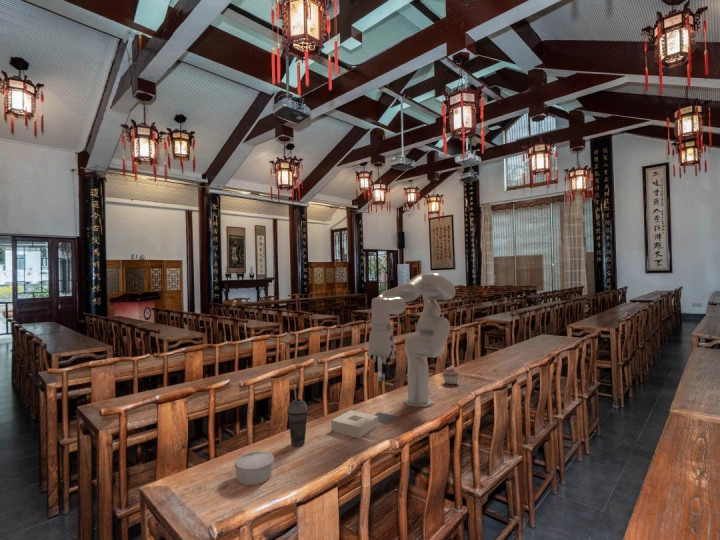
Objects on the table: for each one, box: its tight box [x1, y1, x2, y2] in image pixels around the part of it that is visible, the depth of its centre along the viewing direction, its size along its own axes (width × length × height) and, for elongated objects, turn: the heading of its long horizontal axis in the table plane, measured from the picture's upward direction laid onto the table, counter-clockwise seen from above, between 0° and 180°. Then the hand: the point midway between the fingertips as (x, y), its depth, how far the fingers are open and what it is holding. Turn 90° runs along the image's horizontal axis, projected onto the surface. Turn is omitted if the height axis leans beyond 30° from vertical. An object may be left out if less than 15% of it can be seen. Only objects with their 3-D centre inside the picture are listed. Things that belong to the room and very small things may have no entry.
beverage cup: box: [287, 386, 309, 448], centre depth 132 cm, size 7×7×20 cm
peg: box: [376, 356, 386, 382], centre depth 154 cm, size 3×3×12 cm
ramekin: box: [234, 450, 275, 486], centre depth 110 cm, size 11×11×5 cm
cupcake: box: [441, 365, 461, 386], centre depth 206 cm, size 9×9×10 cm
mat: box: [374, 411, 400, 425], centre depth 154 cm, size 10×10×1 cm
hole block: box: [331, 409, 379, 439], centre depth 145 cm, size 13×13×4 cm
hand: (381, 372), depth 154 cm, fingers closed on peg, 3 cm apart
